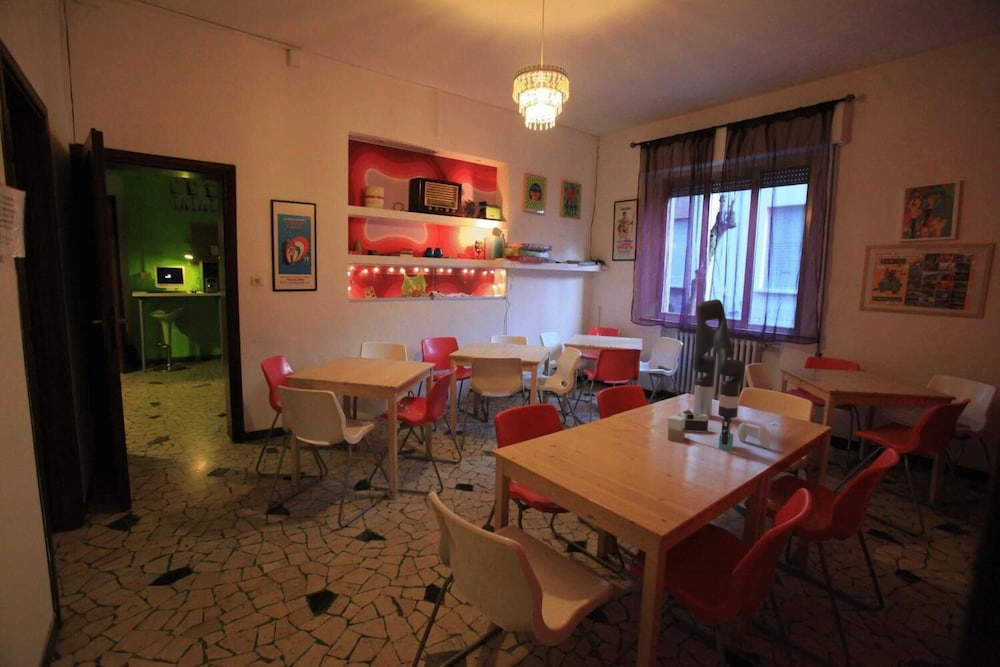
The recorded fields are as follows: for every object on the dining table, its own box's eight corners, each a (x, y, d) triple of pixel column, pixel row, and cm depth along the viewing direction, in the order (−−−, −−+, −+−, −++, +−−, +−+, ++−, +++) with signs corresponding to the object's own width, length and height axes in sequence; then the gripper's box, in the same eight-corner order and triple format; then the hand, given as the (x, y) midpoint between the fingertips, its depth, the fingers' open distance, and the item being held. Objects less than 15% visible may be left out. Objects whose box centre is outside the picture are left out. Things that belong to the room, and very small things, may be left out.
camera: (703, 427, 237) (705, 408, 236) (709, 433, 228) (711, 412, 227) (671, 426, 238) (672, 406, 237) (675, 431, 230) (676, 411, 229)
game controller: (771, 449, 206) (773, 427, 205) (765, 451, 204) (767, 428, 203) (740, 440, 218) (741, 419, 217) (734, 441, 216) (736, 420, 215)
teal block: (719, 445, 210) (720, 432, 210) (732, 447, 208) (733, 434, 207) (718, 448, 206) (719, 435, 205) (731, 450, 203) (732, 437, 203)
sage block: (671, 425, 222) (672, 415, 222) (684, 428, 218) (685, 417, 218) (667, 428, 217) (668, 417, 217) (680, 431, 214) (681, 420, 213)
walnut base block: (667, 435, 223) (668, 425, 222) (683, 437, 220) (684, 427, 220) (667, 440, 216) (668, 429, 216) (684, 442, 214) (684, 431, 213)
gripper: (720, 401, 213) (718, 436, 214) (716, 407, 201) (714, 444, 202) (739, 403, 209) (736, 439, 210) (736, 409, 197) (733, 447, 198)
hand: (725, 441), depth 206 cm, fingers open, 8 cm apart
